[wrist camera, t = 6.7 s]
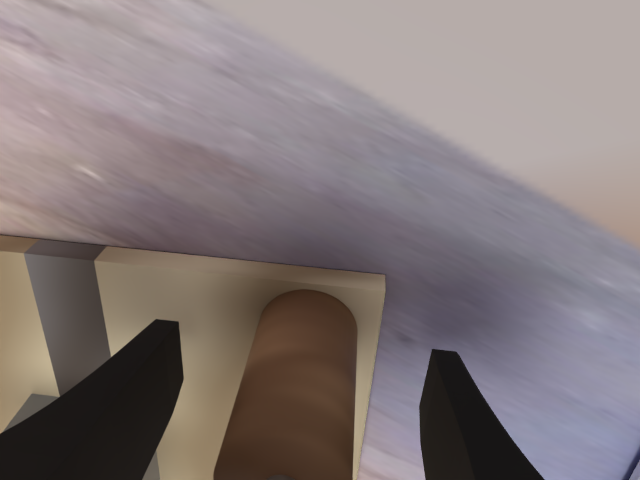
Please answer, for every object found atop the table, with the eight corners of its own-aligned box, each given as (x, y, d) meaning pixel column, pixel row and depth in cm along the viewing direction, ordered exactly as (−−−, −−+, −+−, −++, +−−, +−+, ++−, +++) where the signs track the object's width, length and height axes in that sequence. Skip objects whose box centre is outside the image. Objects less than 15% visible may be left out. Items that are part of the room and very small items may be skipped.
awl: (359, 291, 14) (350, 548, 8) (356, 370, 15) (347, 643, 9) (256, 286, 14) (171, 534, 8) (261, 365, 16) (192, 629, 10)
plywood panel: (384, 274, 15) (385, 291, 14) (348, 520, 20) (347, 541, 20) (-93, 225, 15) (-115, 238, 15) (0, 477, 21) (-12, 495, 20)
